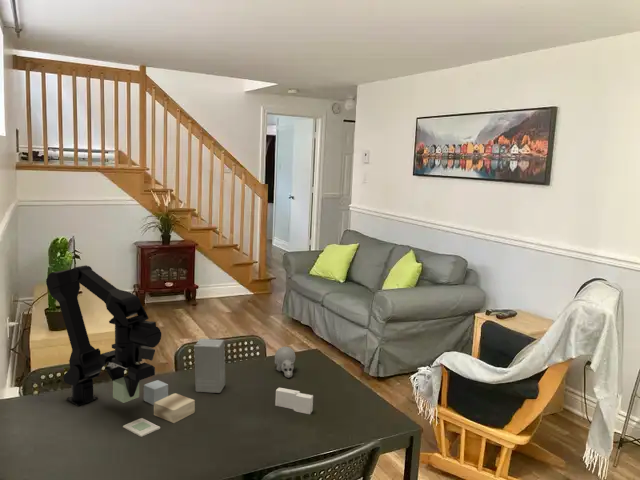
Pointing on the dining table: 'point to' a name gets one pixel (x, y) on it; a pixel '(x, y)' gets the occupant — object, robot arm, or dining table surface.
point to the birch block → (174, 407)
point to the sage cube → (123, 391)
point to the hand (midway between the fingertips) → (126, 393)
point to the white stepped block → (294, 400)
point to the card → (141, 427)
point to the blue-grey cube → (155, 391)
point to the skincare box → (209, 365)
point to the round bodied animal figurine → (285, 360)
